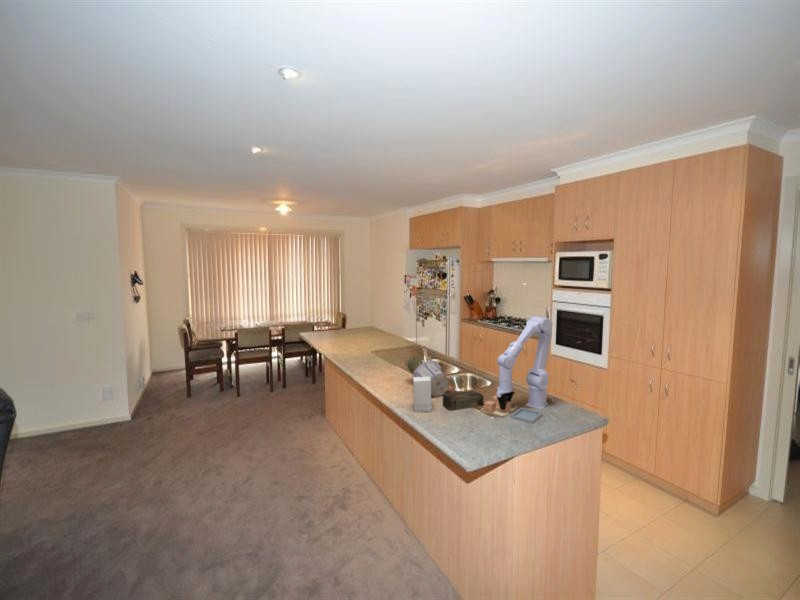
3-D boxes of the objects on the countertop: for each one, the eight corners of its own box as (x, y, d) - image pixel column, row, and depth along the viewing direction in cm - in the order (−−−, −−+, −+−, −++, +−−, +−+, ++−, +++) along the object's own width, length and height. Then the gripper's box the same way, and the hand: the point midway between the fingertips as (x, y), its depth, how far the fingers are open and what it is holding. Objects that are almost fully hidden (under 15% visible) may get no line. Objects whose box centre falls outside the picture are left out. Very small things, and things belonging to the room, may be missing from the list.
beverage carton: (484, 407, 190) (484, 394, 189) (449, 412, 184) (449, 399, 183) (475, 401, 198) (475, 388, 197) (441, 406, 191) (441, 393, 190)
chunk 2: (494, 403, 193) (494, 395, 193) (502, 404, 192) (502, 396, 191) (492, 405, 190) (492, 397, 189) (500, 407, 188) (501, 399, 188)
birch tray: (495, 402, 195) (495, 400, 195) (518, 408, 188) (518, 406, 188) (479, 412, 183) (479, 410, 183) (503, 418, 176) (503, 416, 175)
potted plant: (456, 369, 203) (425, 345, 228) (427, 376, 195) (398, 350, 220) (452, 398, 209) (423, 371, 234) (423, 405, 201) (396, 377, 225)
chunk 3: (502, 407, 187) (502, 399, 187) (510, 409, 185) (510, 401, 184) (499, 410, 184) (499, 402, 184) (506, 412, 182) (507, 404, 181)
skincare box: (430, 407, 190) (430, 376, 188) (431, 412, 183) (431, 380, 182) (413, 407, 190) (413, 376, 188) (414, 412, 183) (414, 380, 181)
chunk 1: (487, 408, 186) (488, 400, 186) (495, 410, 184) (495, 402, 183) (483, 411, 183) (484, 402, 183) (491, 413, 181) (491, 404, 180)
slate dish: (521, 410, 184) (521, 407, 184) (542, 416, 178) (542, 412, 178) (510, 418, 175) (510, 415, 175) (532, 424, 169) (532, 421, 169)
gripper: (504, 374, 191) (503, 401, 193) (490, 381, 180) (490, 410, 182) (518, 377, 187) (517, 404, 188) (504, 385, 176) (504, 413, 177)
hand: (504, 407), depth 184 cm, fingers closed on chunk 3, 4 cm apart
